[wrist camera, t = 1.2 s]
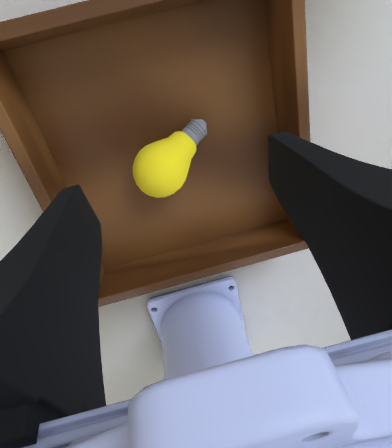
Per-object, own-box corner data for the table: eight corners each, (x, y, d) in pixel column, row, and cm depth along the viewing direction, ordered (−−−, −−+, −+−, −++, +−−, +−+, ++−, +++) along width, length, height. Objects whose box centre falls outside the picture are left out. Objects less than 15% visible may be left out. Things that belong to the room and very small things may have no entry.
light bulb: (124, 175, 21) (117, 169, 18) (181, 111, 21) (186, 93, 18) (161, 208, 22) (162, 209, 18) (217, 145, 22) (229, 133, 18)
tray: (292, 222, 26) (315, 246, 22) (100, 275, 25) (93, 308, 22) (271, -31, 18) (303, -54, 14) (-12, 40, 17) (-51, 34, 14)
